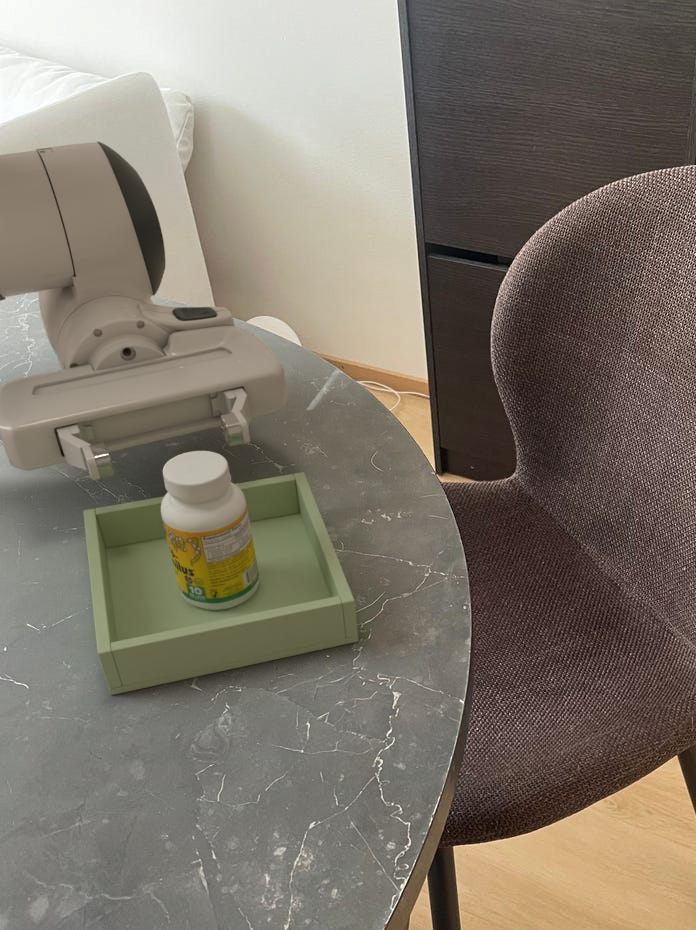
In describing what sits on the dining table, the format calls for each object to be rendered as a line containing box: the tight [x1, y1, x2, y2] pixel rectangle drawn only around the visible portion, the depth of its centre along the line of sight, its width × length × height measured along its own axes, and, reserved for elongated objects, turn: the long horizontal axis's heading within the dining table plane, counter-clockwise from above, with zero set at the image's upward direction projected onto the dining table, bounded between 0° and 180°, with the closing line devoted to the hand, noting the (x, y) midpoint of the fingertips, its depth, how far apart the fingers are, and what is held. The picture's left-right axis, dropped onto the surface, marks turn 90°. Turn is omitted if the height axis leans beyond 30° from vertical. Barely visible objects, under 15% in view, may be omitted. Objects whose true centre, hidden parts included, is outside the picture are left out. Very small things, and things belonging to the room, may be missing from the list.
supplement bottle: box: [161, 450, 259, 610], centre depth 68 cm, size 5×5×10 cm
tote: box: [82, 471, 359, 696], centre depth 70 cm, size 16×16×4 cm
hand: (172, 452), depth 71 cm, fingers open, 8 cm apart
